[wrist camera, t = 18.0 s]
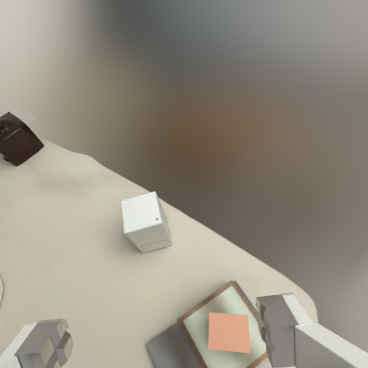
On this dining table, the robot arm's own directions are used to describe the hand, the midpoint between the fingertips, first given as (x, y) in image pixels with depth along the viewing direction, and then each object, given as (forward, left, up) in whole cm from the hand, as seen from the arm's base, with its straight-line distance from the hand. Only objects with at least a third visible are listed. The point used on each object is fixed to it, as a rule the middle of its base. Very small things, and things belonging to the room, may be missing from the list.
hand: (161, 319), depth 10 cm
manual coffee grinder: (-20, +69, -41) cm, 82 cm away
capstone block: (+3, -2, -33) cm, 33 cm away
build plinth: (0, -2, -41) cm, 41 cm away
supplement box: (+1, +22, -41) cm, 46 cm away
